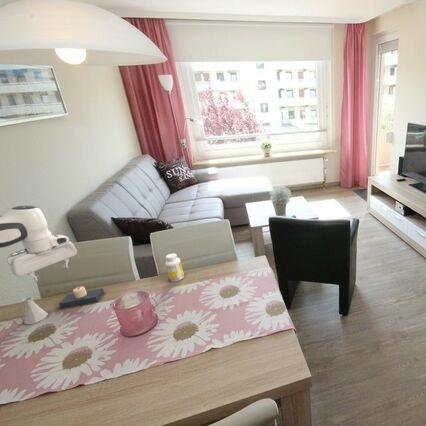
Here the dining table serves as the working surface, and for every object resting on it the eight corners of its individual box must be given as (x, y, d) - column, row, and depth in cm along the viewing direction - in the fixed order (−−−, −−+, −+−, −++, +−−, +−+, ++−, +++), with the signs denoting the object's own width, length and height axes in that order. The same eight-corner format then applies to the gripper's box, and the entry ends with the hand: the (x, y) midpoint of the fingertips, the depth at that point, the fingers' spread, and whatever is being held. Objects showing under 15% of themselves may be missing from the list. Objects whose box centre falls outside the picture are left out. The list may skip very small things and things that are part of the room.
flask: (37, 325, 117) (27, 304, 114) (19, 325, 117) (9, 305, 114) (52, 313, 124) (43, 293, 120) (36, 313, 124) (27, 293, 121)
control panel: (61, 309, 126) (58, 303, 125) (69, 299, 132) (67, 294, 131) (97, 302, 129) (95, 296, 128) (104, 293, 135) (102, 288, 134)
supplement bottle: (180, 273, 148) (174, 251, 144) (187, 277, 145) (181, 254, 140) (167, 279, 143) (160, 256, 139) (174, 283, 140) (167, 260, 135)
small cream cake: (84, 296, 128) (81, 289, 127) (74, 299, 127) (70, 291, 126) (88, 292, 132) (85, 284, 131) (78, 294, 131) (75, 286, 130)
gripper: (8, 257, 107) (23, 289, 111) (72, 235, 124) (83, 264, 128) (1, 254, 109) (15, 286, 114) (65, 233, 126) (75, 261, 131)
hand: (52, 274), depth 121 cm, fingers open, 8 cm apart
